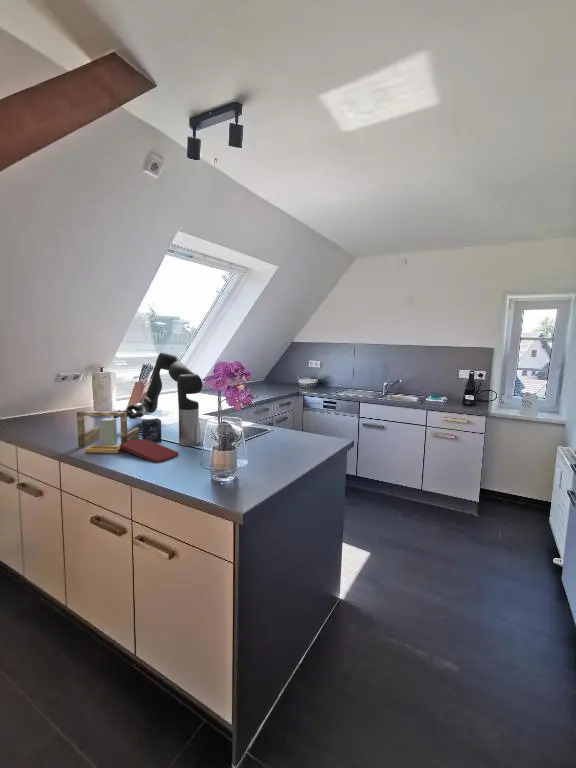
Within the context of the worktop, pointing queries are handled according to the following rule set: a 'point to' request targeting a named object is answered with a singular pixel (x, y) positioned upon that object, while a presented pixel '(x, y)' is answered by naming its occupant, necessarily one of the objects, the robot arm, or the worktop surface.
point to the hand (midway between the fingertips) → (122, 416)
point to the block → (108, 432)
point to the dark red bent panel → (148, 450)
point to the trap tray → (103, 449)
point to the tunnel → (94, 433)
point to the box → (151, 429)
